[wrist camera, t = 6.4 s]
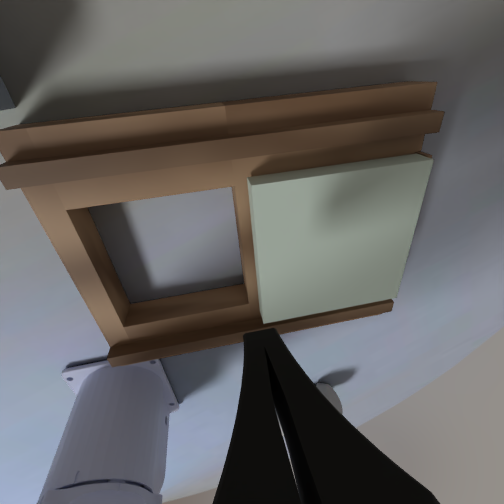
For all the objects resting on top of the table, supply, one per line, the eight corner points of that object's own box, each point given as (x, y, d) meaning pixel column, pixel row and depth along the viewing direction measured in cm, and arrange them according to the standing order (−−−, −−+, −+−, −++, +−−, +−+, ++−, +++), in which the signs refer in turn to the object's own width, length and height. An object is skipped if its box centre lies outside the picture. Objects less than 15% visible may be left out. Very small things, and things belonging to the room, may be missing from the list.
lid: (385, 285, 21) (396, 297, 20) (259, 309, 20) (263, 323, 19) (416, 153, 16) (433, 159, 15) (247, 177, 15) (251, 185, 14)
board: (367, 295, 26) (388, 322, 23) (127, 341, 23) (118, 378, 21) (407, 81, 16) (452, 82, 14) (18, 124, 14) (-26, 136, 11)
